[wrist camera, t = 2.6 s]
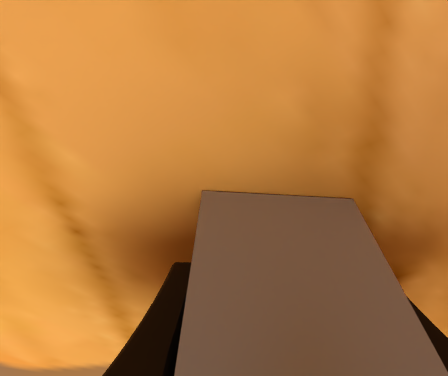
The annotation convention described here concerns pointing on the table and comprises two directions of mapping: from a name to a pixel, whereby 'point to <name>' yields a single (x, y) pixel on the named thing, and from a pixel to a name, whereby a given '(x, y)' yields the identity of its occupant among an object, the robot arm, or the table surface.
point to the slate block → (295, 294)
